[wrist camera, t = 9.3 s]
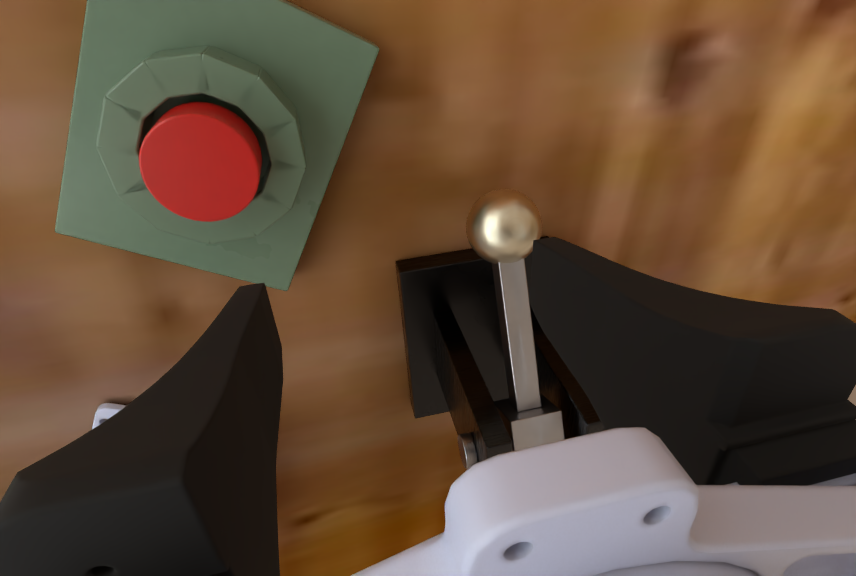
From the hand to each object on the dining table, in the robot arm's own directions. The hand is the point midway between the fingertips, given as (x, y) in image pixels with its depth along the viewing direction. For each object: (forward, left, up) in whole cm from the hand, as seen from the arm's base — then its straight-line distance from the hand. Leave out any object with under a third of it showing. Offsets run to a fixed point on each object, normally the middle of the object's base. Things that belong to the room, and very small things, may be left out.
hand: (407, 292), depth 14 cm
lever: (-3, -7, -6) cm, 10 cm away
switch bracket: (-6, -9, -10) cm, 15 cm away
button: (-1, +6, -8) cm, 10 cm away
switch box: (-1, +6, -10) cm, 12 cm away
